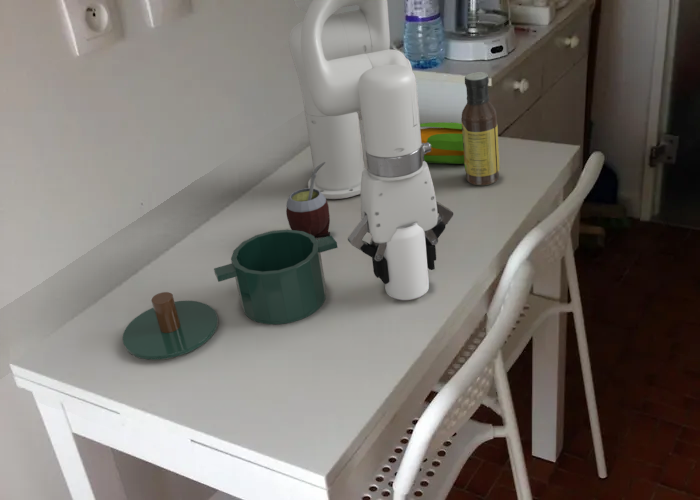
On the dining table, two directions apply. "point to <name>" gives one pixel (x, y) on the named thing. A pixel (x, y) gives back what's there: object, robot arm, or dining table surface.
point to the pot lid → (170, 328)
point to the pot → (279, 275)
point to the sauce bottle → (480, 132)
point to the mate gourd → (309, 210)
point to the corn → (443, 142)
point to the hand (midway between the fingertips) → (405, 271)
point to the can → (407, 264)
